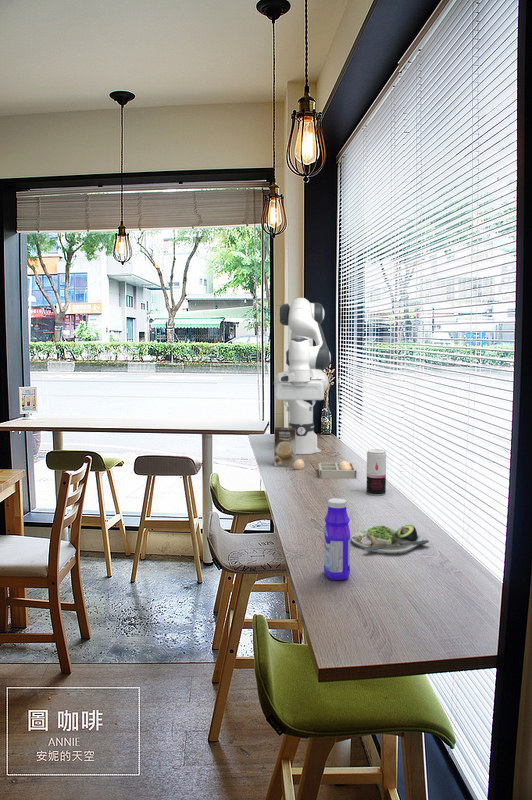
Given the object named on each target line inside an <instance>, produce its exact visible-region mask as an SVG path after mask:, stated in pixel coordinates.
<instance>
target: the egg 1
mask: <svg viewBox="0 0 532 800" xmlns="http://www.w3.org/2000/svg"><path fill="white" fill-rule="evenodd" d="M293 466H294V467H293V468H294V469H295V470H298V471H299V470H303V469H304V468H305V462H304V460H303V459H302V458H301V459H300V458H298V459H295V461H294V463H293Z"/></svg>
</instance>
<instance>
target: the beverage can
mask: <svg viewBox="0 0 532 800" xmlns="http://www.w3.org/2000/svg"><path fill="white" fill-rule="evenodd" d="M386 490H387V451H386V450H385V449H368V450H367V452H366V493H367V495H370V494H371V496H375V495H380V496H384V495H385V494H386V492H387V491H386ZM383 494H384V495H383Z"/></svg>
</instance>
